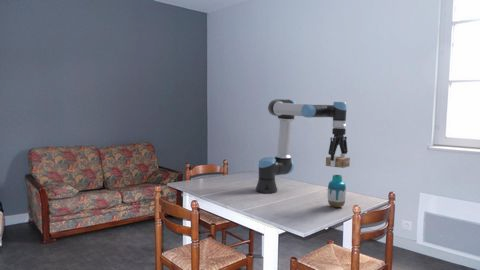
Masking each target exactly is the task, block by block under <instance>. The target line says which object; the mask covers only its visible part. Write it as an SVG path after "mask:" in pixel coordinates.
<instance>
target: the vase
mask: <svg viewBox="0 0 480 270" xmlns="http://www.w3.org/2000/svg"><path fill="white" fill-rule="evenodd" d="M346 186H347V185H346V183H345V181H343V176H342V175H341V174H333V175H332V179H331V181H330V180H329V182H328V186H327V204H328V205H329V206H331V207H333V208H341V207H343V206H344V205H345V204H346V198H347V197H346V195H347V193H346V192H347V187H346Z"/></svg>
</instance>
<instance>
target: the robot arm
mask: <svg viewBox="0 0 480 270" xmlns="http://www.w3.org/2000/svg"><path fill="white" fill-rule="evenodd" d="M332 103H333V104H304V103H297V101H296V100H294V99H290V98H289V99H277V98H276V99H273V100H271V101H270V102H269V103H268V106H267V110H268V112H269V114H270V115H272V116H274V117H277V120H279V123H278V125H279V126H278V127H279V128H278V141H277V152H276V154H275V155H274V157H273V156H268V157H262V158H260V159H259V161H258V180H257V184H256V186H255V192H257V193H260V194H275V193H277V192H278V187H277V181H276V176H281V175H289V174H291V173H292V172H293V171H294V167H295V163H294V160H293V159H292V156H291V155H290V149H291V138H292V137H291V135H292V125H293V124H292V123H293V121H294V120H295V117H304V118H309V119H310V118H332V132H331V133H332V135H333V137H330V143H329V148H328V151H327V152H328V155H329V156H331V166H330V167H332V166H335V159H336V156H337V155H336V152H337V149H338V146H339V148H340V149H339V150H340V152H341V153H340V155H339V157H346V155H347V154H348V141H347V139H348V138H347V136H345V135H346V131H347V129H346V127H347V126H346V125H347V121H346V120H347V102H345V101H333V102H332Z"/></svg>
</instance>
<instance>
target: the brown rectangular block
mask: <svg viewBox="0 0 480 270" xmlns="http://www.w3.org/2000/svg"><path fill="white" fill-rule="evenodd" d="M350 160H351V157H346V156H345V157H340V156H337V155H336V159H335V166H331V155H329V156H327V157H325V166H326V167H334V168H342V169H344V168H349V167H350V164H351V161H350Z"/></svg>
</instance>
